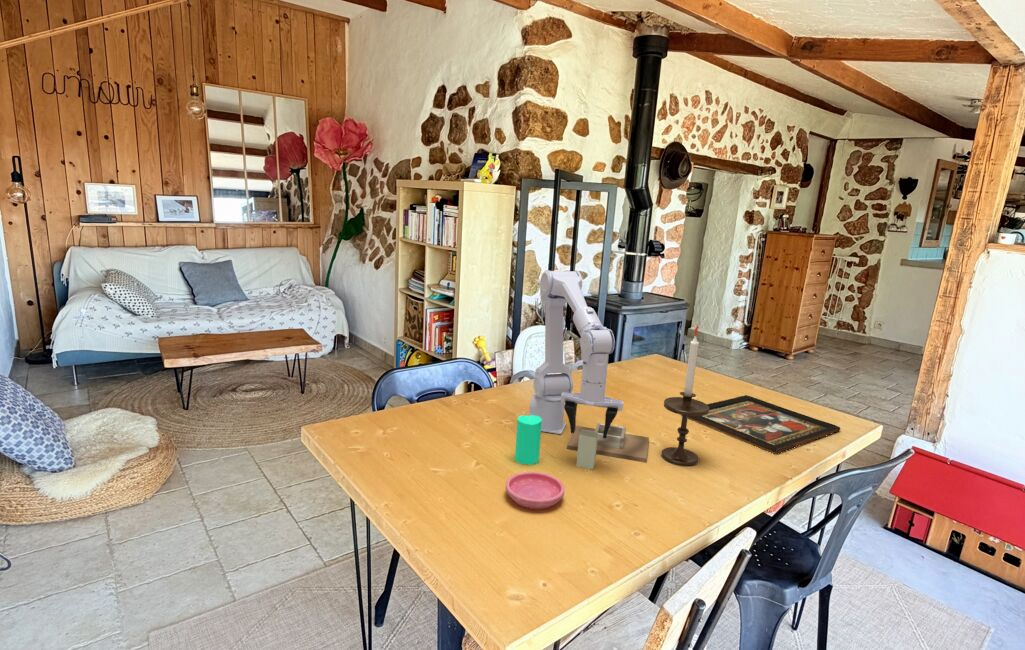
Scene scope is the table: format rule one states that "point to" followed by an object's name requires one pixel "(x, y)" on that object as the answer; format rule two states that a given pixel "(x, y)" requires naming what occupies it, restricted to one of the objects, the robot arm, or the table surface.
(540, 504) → the saucer
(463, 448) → the table surface
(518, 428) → the green upright cylinder
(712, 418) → the religious icon
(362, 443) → the table surface
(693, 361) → the candlestick
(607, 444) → the brown socket board
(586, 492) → the table surface
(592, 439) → the rectangular block
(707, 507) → the table surface
